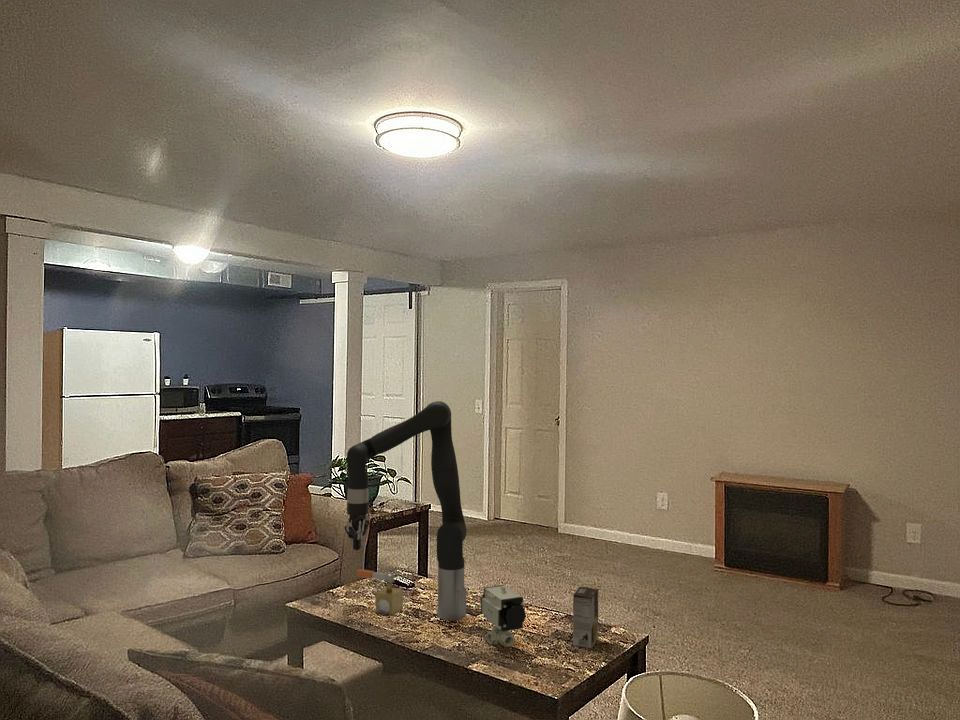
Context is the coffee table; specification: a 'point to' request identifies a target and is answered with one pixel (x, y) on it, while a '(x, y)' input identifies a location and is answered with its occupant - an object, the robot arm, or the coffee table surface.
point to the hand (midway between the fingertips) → (356, 549)
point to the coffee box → (585, 617)
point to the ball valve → (502, 613)
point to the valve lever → (375, 575)
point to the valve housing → (389, 600)
